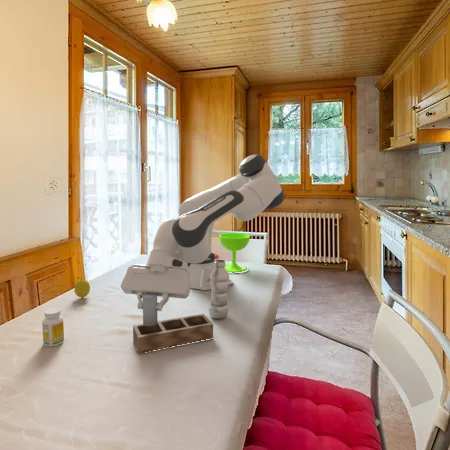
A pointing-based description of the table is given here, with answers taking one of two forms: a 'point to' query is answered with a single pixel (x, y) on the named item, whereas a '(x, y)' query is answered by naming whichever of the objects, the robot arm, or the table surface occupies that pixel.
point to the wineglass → (234, 248)
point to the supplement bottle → (53, 328)
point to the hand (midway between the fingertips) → (149, 309)
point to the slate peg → (149, 309)
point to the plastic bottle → (219, 290)
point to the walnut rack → (172, 333)
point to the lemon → (82, 288)
